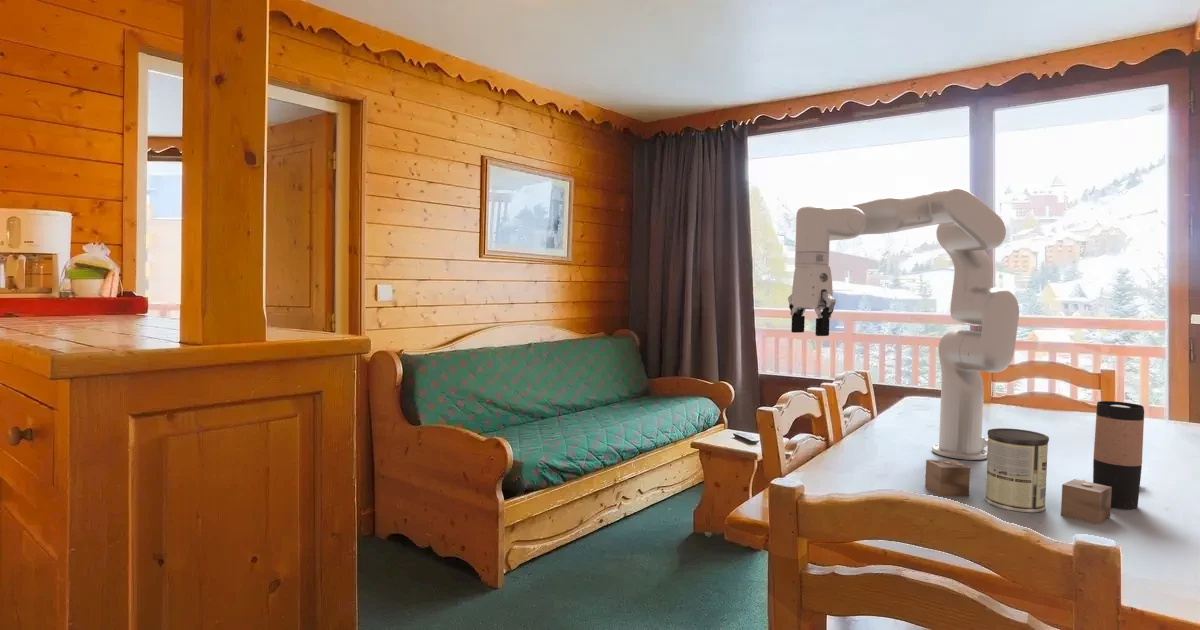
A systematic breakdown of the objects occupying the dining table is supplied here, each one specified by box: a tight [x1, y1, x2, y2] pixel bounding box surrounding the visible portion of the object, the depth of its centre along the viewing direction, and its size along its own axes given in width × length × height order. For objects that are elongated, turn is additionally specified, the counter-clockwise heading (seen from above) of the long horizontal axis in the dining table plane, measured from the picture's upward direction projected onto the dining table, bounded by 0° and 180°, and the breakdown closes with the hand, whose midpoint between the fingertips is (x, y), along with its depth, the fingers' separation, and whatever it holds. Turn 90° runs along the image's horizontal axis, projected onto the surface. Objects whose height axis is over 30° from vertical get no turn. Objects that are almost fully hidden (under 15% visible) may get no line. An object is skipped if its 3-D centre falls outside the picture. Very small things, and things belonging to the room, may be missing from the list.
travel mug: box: [1092, 400, 1145, 511], centre depth 134 cm, size 8×8×20 cm
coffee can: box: [984, 427, 1050, 513], centre depth 133 cm, size 10×10×14 cm
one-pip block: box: [1060, 478, 1112, 526], centre depth 127 cm, size 6×6×6 cm
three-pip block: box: [924, 459, 971, 497], centre depth 141 cm, size 6×6×6 cm
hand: (809, 334), depth 157 cm, fingers open, 9 cm apart
